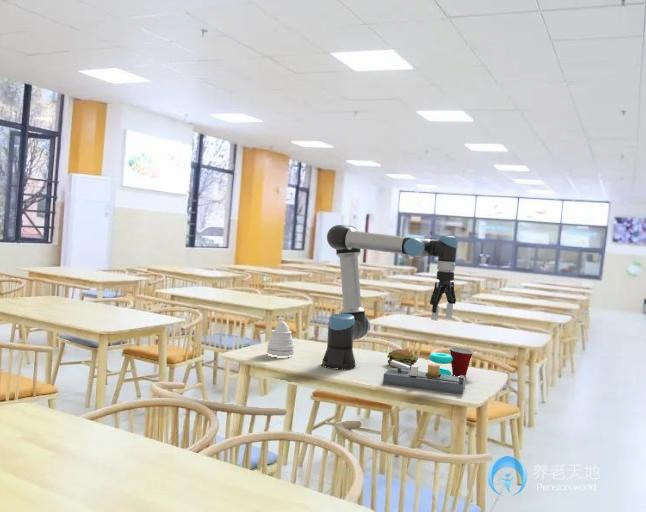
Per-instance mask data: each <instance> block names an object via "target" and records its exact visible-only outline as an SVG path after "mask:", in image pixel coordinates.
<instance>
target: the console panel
mask: <svg viewBox="0 0 646 512" xmlns="http://www.w3.org/2000/svg"><path fill="white" fill-rule="evenodd" d="M410 373H411V369H409V371H407V370H404V369H401V368H394V367H389V368H388V369H387V370H386V371H385V372H384V373H383V378H382V384H384V385H385V384H386V385H391V384H392V385H393V386H399V387H405V388H412V389H413V388H415V389H422V390H427V391H428V390H430V391H436V392H441V393H450V394H457V395H463V394H464V391H465V388H466V382H467V377H466V376H465V377H464V376H463V375H460V377H458V376H454V375H452V374H451V375H443V374H439V377H432V376H427V373H428V371H427V372H426V371H419V370H418V374H417V376H412V375H410Z"/></svg>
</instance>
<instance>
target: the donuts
mask: <svg viewBox="0 0 646 512" xmlns="http://www.w3.org/2000/svg"><path fill="white" fill-rule="evenodd" d="M429 360H430V361H431V362H433V363H434V364H438V365H439V364H440V365H447V364H450V363H451V361H452V360H453V358H452V356H451V354H448V353H446V352H445V353H444V352H443V353H442V352H432V353H431V354H430V355H429ZM439 374H443V375H451V376H452V371H450V370H449V369H447V368H445V367H444V368H443V367H440V370H439Z"/></svg>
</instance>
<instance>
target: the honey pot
mask: <svg viewBox="0 0 646 512" xmlns="http://www.w3.org/2000/svg"><path fill="white" fill-rule="evenodd" d="M284 320H285V317H278V321H279V322H278V323H277V324H276V326H275V327H274V329H271V331H270V333H271V336H270V337H269V340H268V344H267V350H266V354H267V353H269V354H272V355H277V356H289V355H293V354H294V355H295V343H294V340H293V337H292V333H293V331H292V330H290V327H289V325H288V324H287V323H286V321H284Z"/></svg>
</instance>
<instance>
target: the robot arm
mask: <svg viewBox="0 0 646 512" xmlns="http://www.w3.org/2000/svg"><path fill="white" fill-rule="evenodd" d="M326 241H327V243H328V245H329V247H331V249H334V250H335V254H336V256H337V257H338V258H339V263H340V280H341V292H342V295H341V296H342V309H341V310H340V312H339V313H335V314H332V315H330V316H329V318H328V323H327V327H328V328H327V343H326V345H327V346H326V350H325V353H324V355H323V358H322V361H321V365H322V364H323V365H324V366H326V367H325V368H327V367H330V368H329V369H331V368H338V369H337V370H341V369H346V370H351V369H350V368H353V369H355V368H356V358H355V354H354V349H353V347H354V341H355V340H359V339H362V338H363V337H365V336H366V335H367V333H368V332H369V330H370V321H369V318H368V317H367V316H366V311H365V309H364V308H363V307H362V297H361V285H360V284H361V283H360V271H359V256H360V254H361V250H368V251H375V252H376V251H377V252H386V253H391V254H399V255H406V256H411V257H420V256H421V257H424V256H425V257H435V258H437V267H436V270H437V271H436V280H438V281H435V282H434V288H433V290H432V295H431V297H430V300H429V304H430V305H431V306H432V307H431V308H432V309H431V319H430V320H431V321H438V320H439V310H440V309H439V308H440V305H439V303H440V301H441V299H442V297H443V295H445V297H446V300H447V303H446V310H445V318H447V319H453V309H454V305H455V304H456V302H457V299H456V291H455V281H454V279H455V272H454V271H455V270H456V269H455V268H456V257H457V248H458V239H457V237H456V236H452V235H451V236H449V235H441V236H439V239H432V238H431V239H430V238H423V237H422V238H421V237H419V238H418V237H407V236H400V235H392V234H391V235H390V234H384V233H383V234H381V233H374V232H364V231H361V230H360V229H359V228H358V227H356V226H353V225H347V224H346V225H345V224H337V225H333V226H332V227H330V229H328V232H327V234H326ZM323 365H322V366H323ZM324 366H323V367H324ZM354 367H355V368H354Z"/></svg>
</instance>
